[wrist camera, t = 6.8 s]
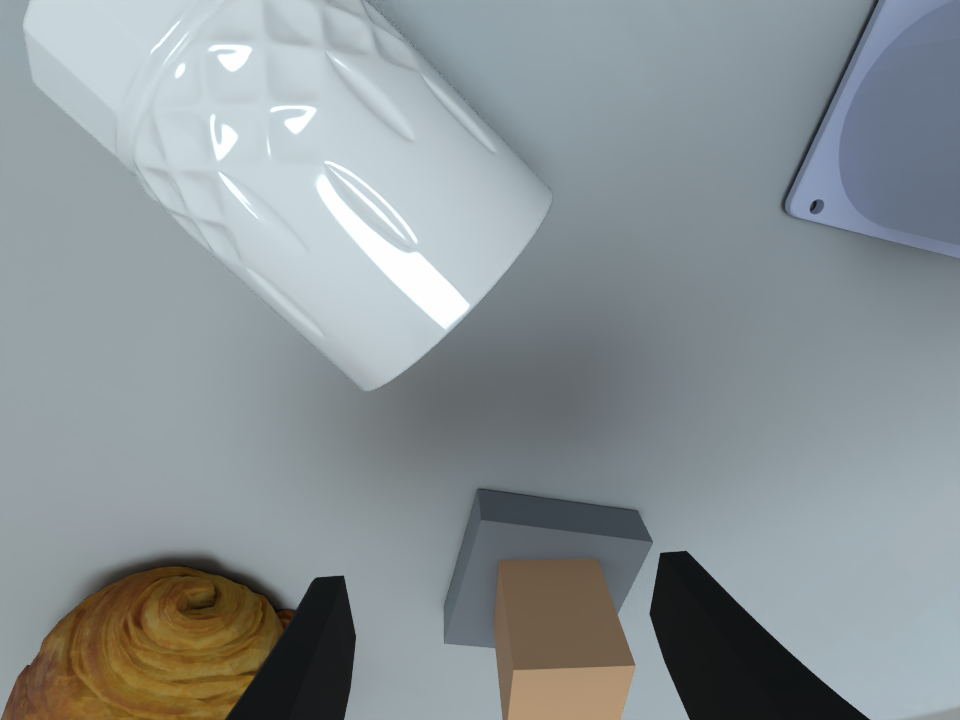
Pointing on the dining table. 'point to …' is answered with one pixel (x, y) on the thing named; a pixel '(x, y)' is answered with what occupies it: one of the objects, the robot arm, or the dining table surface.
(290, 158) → the white cup
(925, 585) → the dining table surface
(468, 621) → the slate coaster
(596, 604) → the tan rectangular block
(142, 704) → the croissant
